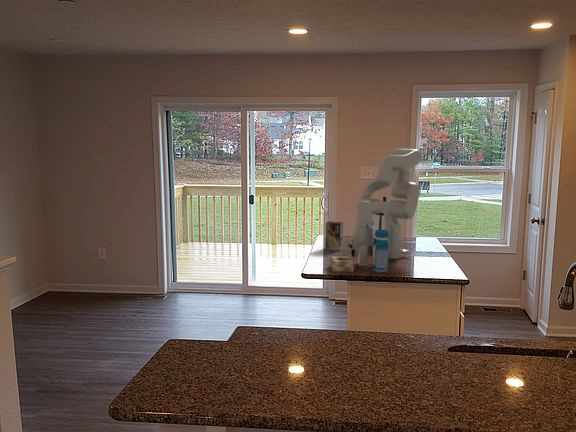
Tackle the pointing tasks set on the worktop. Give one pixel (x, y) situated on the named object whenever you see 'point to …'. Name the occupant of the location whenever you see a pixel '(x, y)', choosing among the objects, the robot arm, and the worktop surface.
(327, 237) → the coffee box
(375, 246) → the beverage bottle
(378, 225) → the coffee press
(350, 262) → the socket block
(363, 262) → the peg
